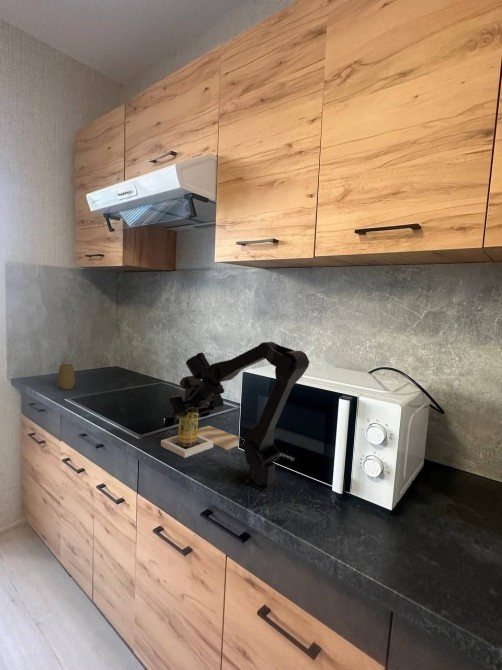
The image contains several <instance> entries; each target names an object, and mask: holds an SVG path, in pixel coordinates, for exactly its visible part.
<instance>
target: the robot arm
mask: <svg viewBox="0 0 502 670" xmlns="http://www.w3.org/2000/svg"><path fill="white" fill-rule="evenodd" d="M264 360H266V361H267V362H268V363H269V364H270V365H272V366H274V367H275V368H274V373H275V375H274V376H275V382H274V383H273V386H272V388H271V391H270V393H269V396H268V398H267V401H266V402H265V405H264V407H263V411H262V412H261V415H260V417H259V419H258V422H257V423H255V424H253V425H251V426H248V427H247V429H246V431H245V434H244V437H242V438H243V439H242V440H244V442H243V444H242V448H243V451H244V455H245V460H246V463H247V465H248V468H249V469H248V479H246V480H245V483H246V484H247V485H250V486H252V487H254V488H257V490H260V491H263V492H265V491H267V490H269V489H270V488H271V487H273V486H276V485H277V484H278V480H276V479H275V469H276V463H275V461H278V460H279V458H280V456H281V452H280V451H279V449H278V447H277V446H276V444H275V442H274V441H275V438H276V436H275V428H276V425H277V423H278V421H279V418H280V417H281V414H282V411H283V409H284V407H285V405H286V402H287V400H288V399H289V396H290V393H291V391H292V389H293V387H294V385H295V384H297V382H298V381H299V380H300V379H301V378H302V377H303V375H304V374H305V372H306V371H307V369H308V368H309V366H310V360H309V357H308V355H307V354H306V353H305V352H304V351H302V350H294V349H292V348H289V347H286V346H283V345H280V344H277V343H276V342H274V341H264V342H260V344H258V345H257V346H255V347H253V348H250V349H249V350H247V351H245V352H243V353H241V354H238V355H237V356H235V357H234V358H230V359H227V360H224V361H223V360H222V361H219V362H215V363H212V364H210V362H209V360H207V358H206V356H205V353H204V352H198V353H197V354H196V355H193V356H191V357H190V358H188V359H187V360H186V361H185V365H186V367H187V369H188V370H189V371H190V373H191V375H187V376H185V377H182V378H181V379H180V381H179V386H180V388H182V389H184V390H185V388H186V389H187V390H188V392H187V395H188V397H190V398H189V401H184V398H183V397H182V395H180V394H179V395H178V394H177V395H173V396H172V395H170V396H169V397H168V399H167V401H166V403H167V407H168V408H169V412H170V414H171V416H172V417H174V418H175V417H177V418H178V419H179V418H181V417H184V416H186V415H188V414H187V410H188V409H189V408H194V409H198V415H200V414H201V415H202V414H204V413H209V412H213V411H214V410H218V409H222V408H223V406H224V404H225V403H224V399H223V397H222V395H221V394H224V393H225V388H224V387H223V386H224V385H222V382H227V381H231V380H233V379H234V378H236V377H237V376H238V374H239V373H240V372H241V371H243V370H244V369H247V368H249V367H251V366H253V365H255V364H258V363H260V362H261V361H264Z"/></svg>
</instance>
